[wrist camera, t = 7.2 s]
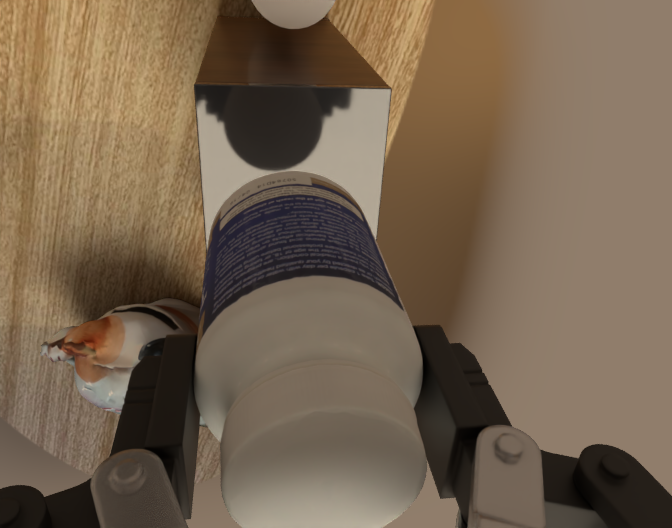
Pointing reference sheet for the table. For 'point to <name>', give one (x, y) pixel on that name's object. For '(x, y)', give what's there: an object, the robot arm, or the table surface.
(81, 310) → the table surface
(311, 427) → the pill bottle
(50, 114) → the table surface
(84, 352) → the lucky cat figurine
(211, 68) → the walnut plinth
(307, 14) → the tube
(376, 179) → the slate coaster
